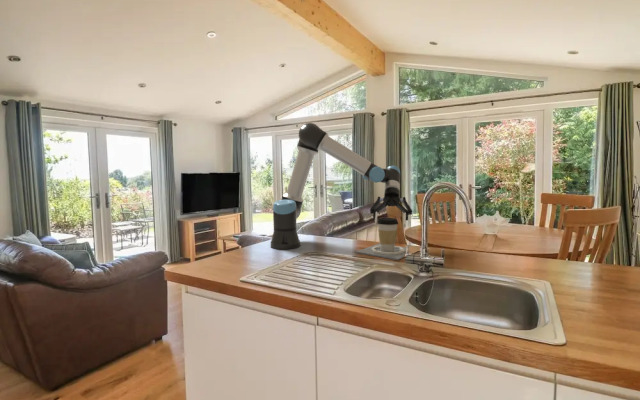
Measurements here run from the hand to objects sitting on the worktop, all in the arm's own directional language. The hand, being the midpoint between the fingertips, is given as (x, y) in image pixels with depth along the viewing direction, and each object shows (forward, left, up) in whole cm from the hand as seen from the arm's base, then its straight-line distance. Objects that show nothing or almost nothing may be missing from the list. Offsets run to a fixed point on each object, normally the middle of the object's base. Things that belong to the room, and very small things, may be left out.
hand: (390, 224), depth 167 cm
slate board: (0, -3, -13) cm, 13 cm away
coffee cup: (0, -3, -12) cm, 12 cm away
